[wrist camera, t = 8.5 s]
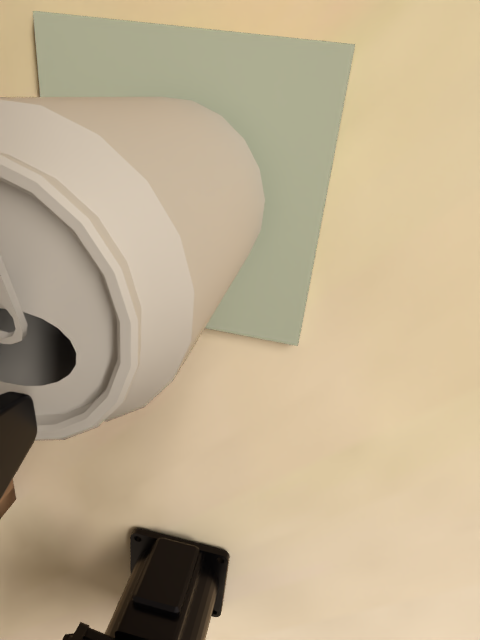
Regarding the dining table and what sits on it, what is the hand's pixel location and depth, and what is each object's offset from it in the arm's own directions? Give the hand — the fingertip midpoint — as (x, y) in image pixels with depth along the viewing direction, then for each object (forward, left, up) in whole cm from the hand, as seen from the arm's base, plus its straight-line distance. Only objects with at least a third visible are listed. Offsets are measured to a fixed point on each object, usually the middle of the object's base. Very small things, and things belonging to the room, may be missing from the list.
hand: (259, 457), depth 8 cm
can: (+2, +6, -12) cm, 14 cm away
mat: (+2, +6, -13) cm, 14 cm away
